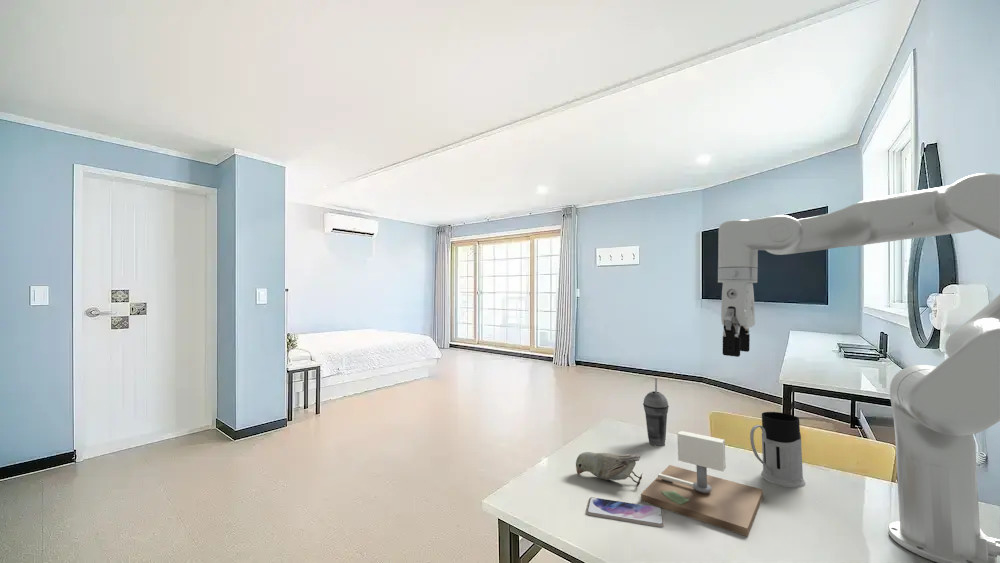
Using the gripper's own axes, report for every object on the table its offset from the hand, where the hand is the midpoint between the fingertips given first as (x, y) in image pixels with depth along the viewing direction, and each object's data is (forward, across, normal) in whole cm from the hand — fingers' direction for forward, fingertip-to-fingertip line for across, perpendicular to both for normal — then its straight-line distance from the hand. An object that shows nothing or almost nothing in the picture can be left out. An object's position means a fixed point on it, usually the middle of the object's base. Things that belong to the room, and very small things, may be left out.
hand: (736, 353), depth 87 cm
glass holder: (+32, +15, -5) cm, 36 cm away
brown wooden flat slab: (+32, -5, +5) cm, 33 cm away
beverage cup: (+33, +21, +25) cm, 46 cm away
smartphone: (+33, -21, +16) cm, 43 cm away
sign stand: (+30, -5, +8) cm, 32 cm away
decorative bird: (+33, -10, +25) cm, 43 cm away
